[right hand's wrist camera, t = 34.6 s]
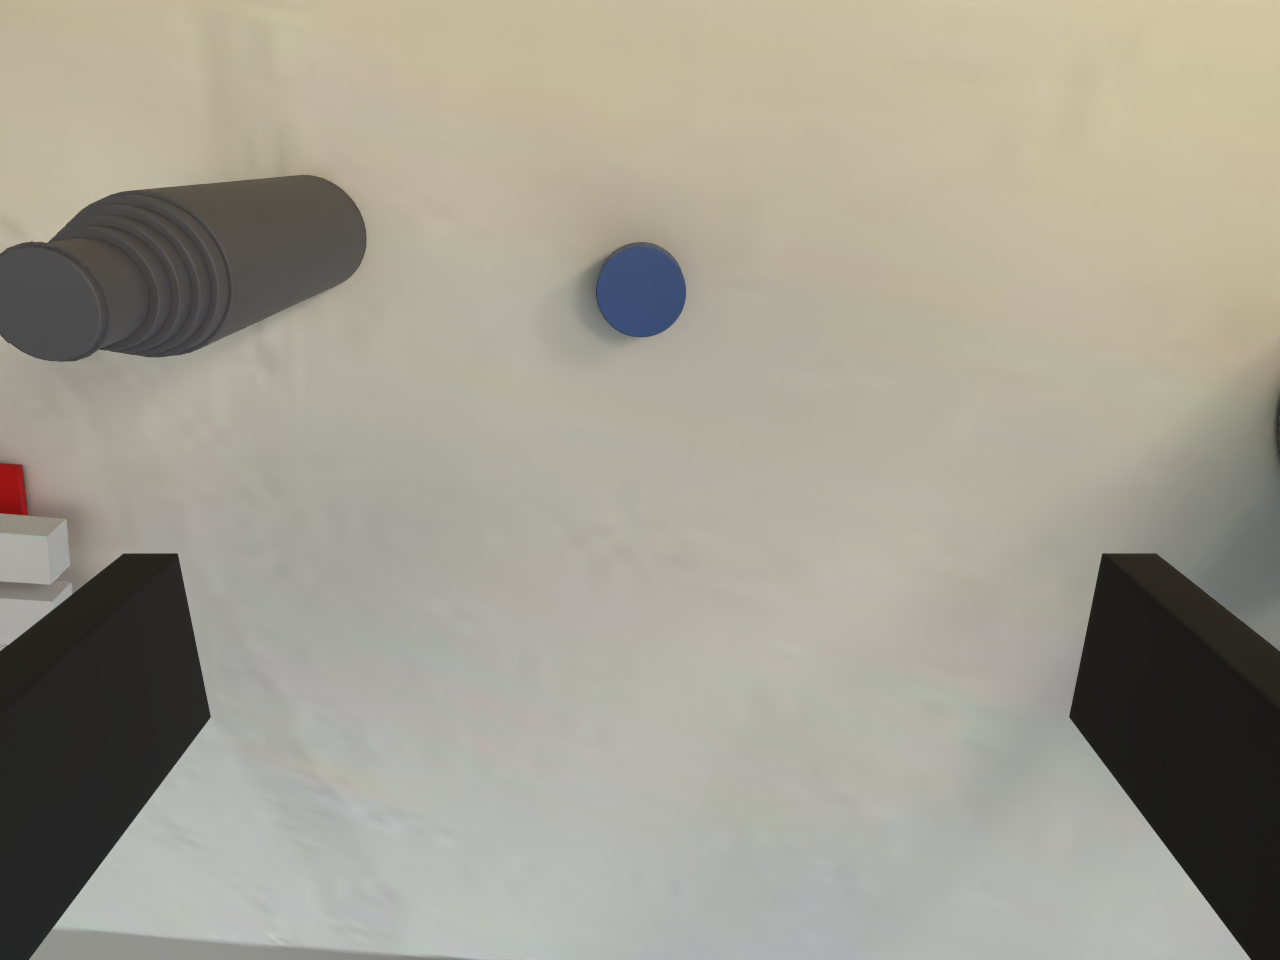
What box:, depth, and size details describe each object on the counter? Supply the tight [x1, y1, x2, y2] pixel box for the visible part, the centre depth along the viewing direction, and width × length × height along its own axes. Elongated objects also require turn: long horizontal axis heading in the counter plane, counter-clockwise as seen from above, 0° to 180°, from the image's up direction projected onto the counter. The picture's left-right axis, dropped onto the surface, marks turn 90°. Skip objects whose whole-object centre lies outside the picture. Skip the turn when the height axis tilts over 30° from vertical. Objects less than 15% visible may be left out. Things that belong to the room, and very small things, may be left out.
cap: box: [596, 243, 686, 337], centre depth 44 cm, size 4×4×2 cm
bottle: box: [0, 175, 366, 362], centre depth 34 cm, size 5×5×21 cm
